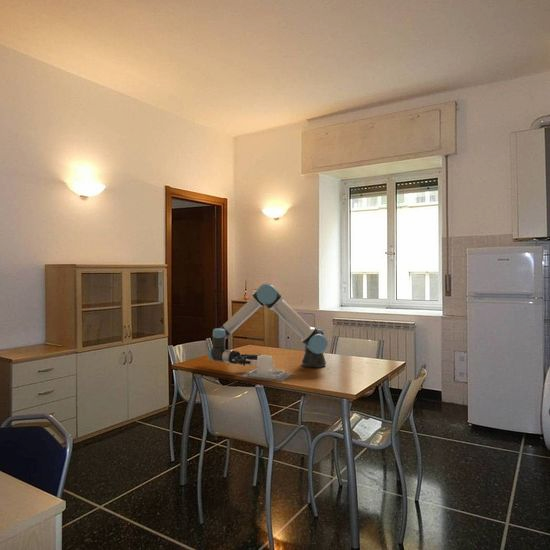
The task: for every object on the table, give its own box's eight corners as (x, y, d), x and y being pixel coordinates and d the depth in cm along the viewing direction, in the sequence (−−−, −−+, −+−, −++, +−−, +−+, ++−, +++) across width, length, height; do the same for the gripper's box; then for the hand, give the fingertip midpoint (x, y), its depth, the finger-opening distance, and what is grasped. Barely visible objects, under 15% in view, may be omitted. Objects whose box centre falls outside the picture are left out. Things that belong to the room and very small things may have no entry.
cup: (264, 372, 257) (264, 354, 257) (279, 375, 249) (279, 357, 249) (253, 374, 251) (254, 356, 251) (269, 377, 243) (269, 359, 243)
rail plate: (292, 374, 255) (292, 370, 255) (281, 382, 238) (282, 377, 238) (253, 370, 263) (253, 366, 263) (241, 377, 246) (241, 373, 246)
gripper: (243, 359, 273) (273, 364, 262) (218, 366, 252) (250, 371, 241) (243, 347, 273) (273, 351, 262) (219, 353, 251) (250, 357, 241)
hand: (262, 361), depth 252 cm, fingers open, 13 cm apart
